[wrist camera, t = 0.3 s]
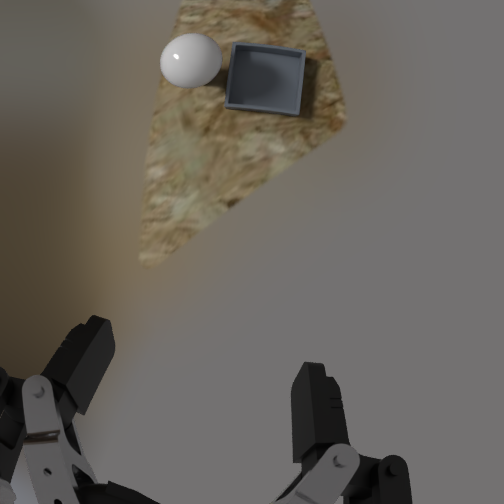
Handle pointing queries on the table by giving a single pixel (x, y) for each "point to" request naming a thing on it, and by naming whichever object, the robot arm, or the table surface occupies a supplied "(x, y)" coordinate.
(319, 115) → the table surface
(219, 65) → the lightbulb
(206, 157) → the table surface
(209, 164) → the table surface
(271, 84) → the walled box
